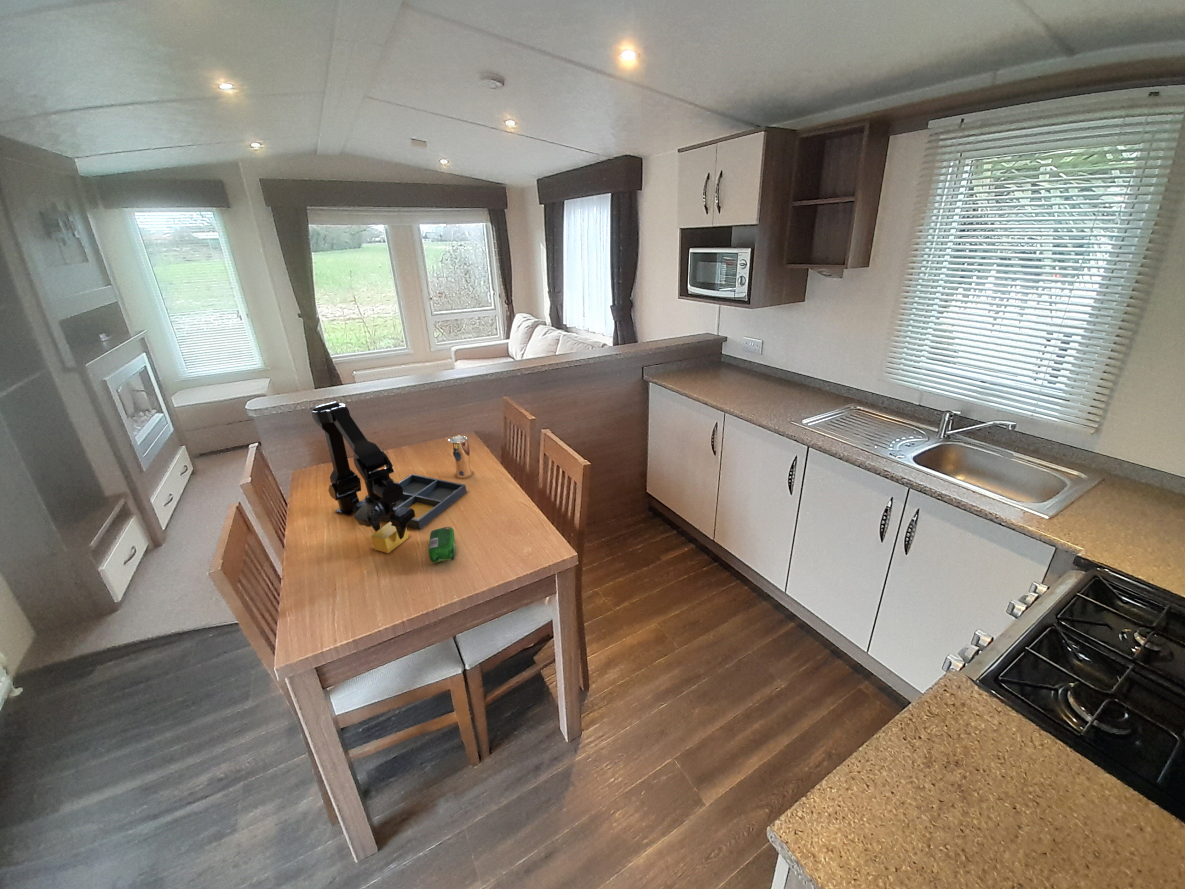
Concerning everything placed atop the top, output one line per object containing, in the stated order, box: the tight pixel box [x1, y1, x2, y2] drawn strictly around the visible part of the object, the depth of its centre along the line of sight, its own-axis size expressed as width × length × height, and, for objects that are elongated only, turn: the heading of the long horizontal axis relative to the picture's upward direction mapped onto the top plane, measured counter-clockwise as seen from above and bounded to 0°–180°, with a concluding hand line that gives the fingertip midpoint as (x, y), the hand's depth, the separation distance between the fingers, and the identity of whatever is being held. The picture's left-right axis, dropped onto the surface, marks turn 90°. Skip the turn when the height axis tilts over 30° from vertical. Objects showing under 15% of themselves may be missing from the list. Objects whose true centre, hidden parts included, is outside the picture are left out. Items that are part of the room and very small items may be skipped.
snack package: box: [428, 526, 456, 564], centre depth 138 cm, size 7×16×5 cm, turn 15°
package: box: [370, 521, 410, 554], centre depth 143 cm, size 6×8×5 cm, turn 157°
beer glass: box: [448, 435, 473, 479], centre depth 180 cm, size 7×7×15 cm
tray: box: [380, 473, 468, 530], centre depth 164 cm, size 24×24×3 cm
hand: (389, 535), depth 143 cm, fingers open, 9 cm apart
